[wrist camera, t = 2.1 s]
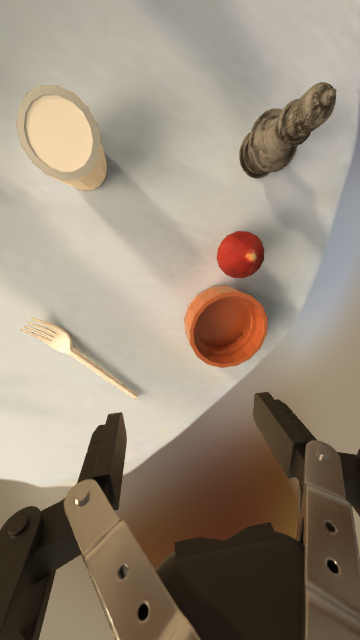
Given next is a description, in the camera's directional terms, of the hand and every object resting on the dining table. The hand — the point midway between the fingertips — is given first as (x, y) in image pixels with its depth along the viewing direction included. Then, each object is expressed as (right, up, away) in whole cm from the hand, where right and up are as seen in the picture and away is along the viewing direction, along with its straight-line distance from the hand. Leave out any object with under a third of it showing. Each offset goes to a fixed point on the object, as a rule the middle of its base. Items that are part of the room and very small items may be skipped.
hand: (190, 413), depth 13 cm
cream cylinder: (-12, +24, +13) cm, 30 cm away
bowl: (+6, +6, +22) cm, 23 cm away
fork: (-15, -1, +21) cm, 26 cm away
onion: (+7, +15, +19) cm, 25 cm away
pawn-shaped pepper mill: (+10, +27, +15) cm, 32 cm away
